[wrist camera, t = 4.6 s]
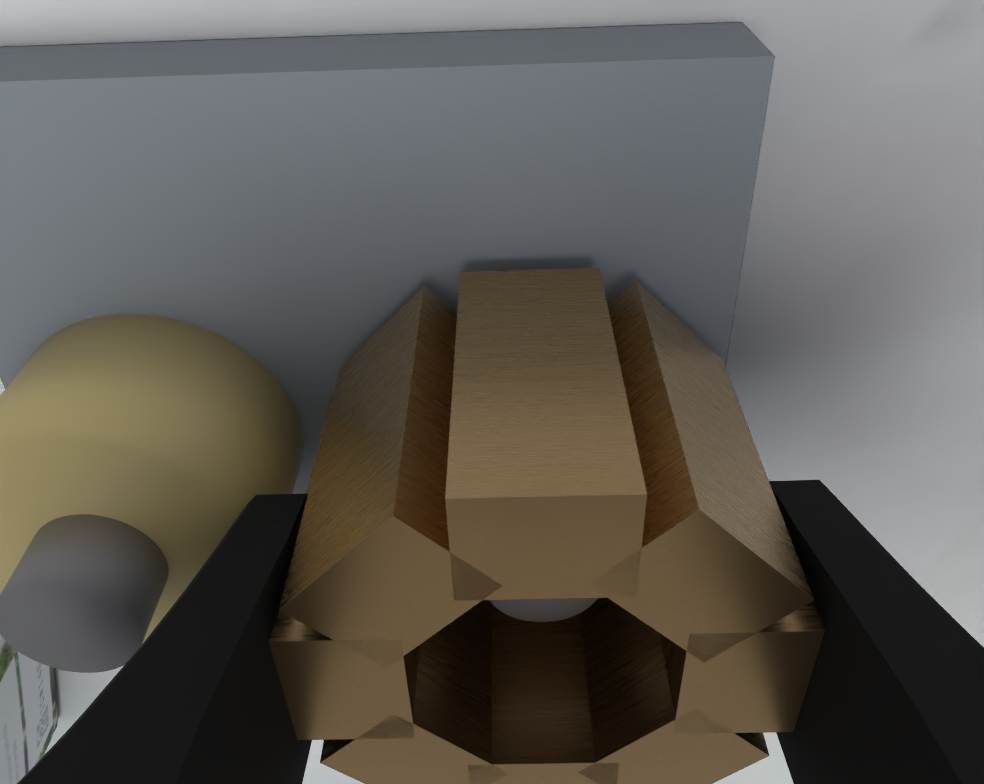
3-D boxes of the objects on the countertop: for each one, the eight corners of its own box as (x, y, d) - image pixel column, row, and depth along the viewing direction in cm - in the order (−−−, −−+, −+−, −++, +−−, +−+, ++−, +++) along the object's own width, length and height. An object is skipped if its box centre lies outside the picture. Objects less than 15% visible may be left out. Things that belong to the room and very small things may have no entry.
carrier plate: (742, 23, 11) (897, 183, 7) (668, 574, 16) (726, 837, 12) (-63, 49, 11) (-394, 222, 7) (151, 586, 17) (43, 850, 13)
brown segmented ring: (752, 263, 10) (869, 490, 7) (702, 568, 14) (766, 818, 10) (309, 276, 11) (227, 502, 7) (362, 575, 14) (321, 826, 10)
